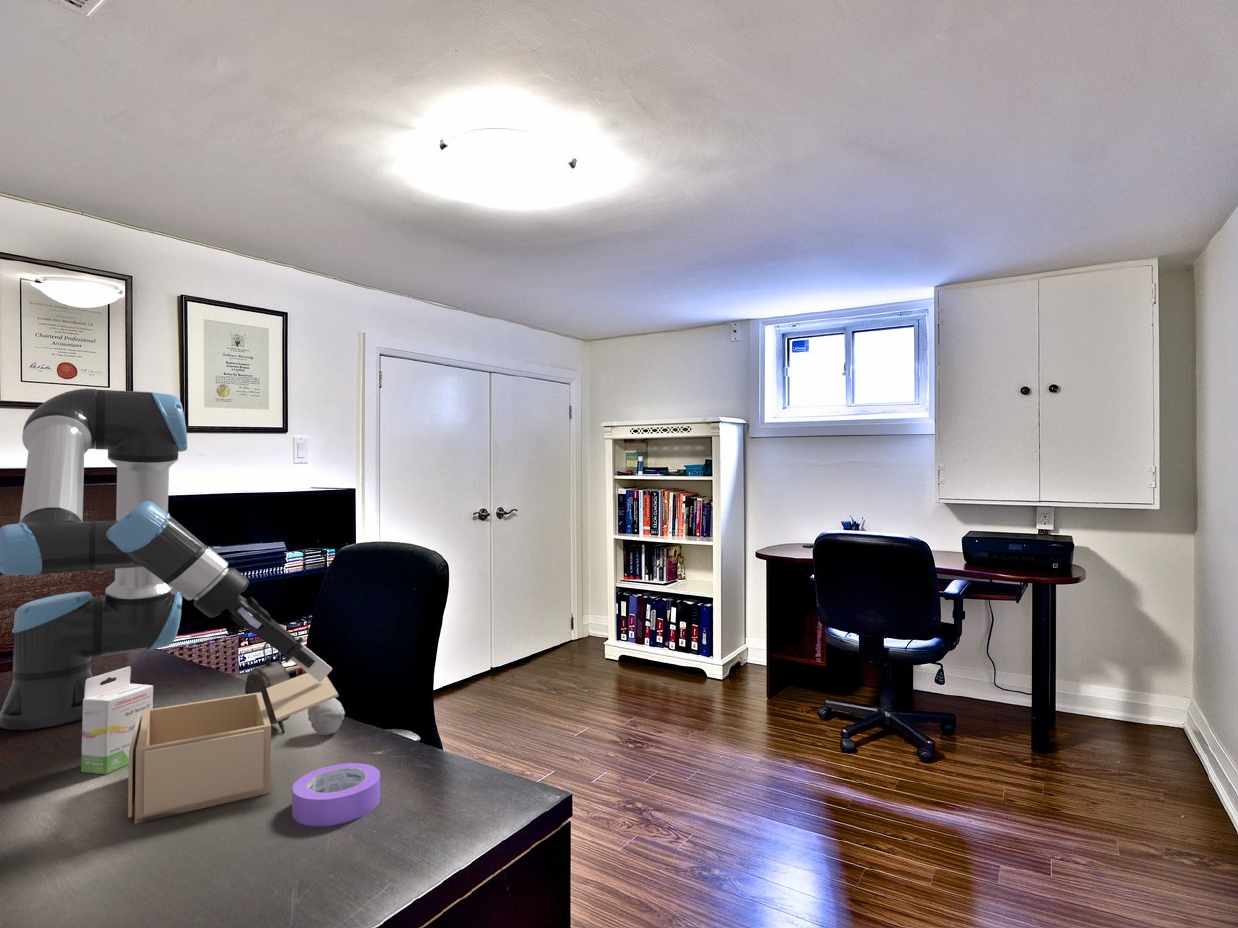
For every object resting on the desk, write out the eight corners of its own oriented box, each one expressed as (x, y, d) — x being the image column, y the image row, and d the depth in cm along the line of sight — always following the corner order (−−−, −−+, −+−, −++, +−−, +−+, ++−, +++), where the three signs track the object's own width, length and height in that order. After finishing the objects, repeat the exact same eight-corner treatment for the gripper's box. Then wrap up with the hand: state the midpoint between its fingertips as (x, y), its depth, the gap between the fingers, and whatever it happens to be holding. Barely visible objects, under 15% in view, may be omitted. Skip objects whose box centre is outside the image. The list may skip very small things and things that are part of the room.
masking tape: (284, 802, 97) (284, 775, 97) (366, 780, 104) (366, 755, 104) (302, 837, 88) (302, 807, 88) (391, 810, 95) (391, 783, 95)
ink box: (105, 775, 105) (106, 681, 105) (79, 772, 106) (81, 679, 106) (154, 753, 113) (155, 666, 114) (129, 750, 114) (131, 664, 114)
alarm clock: (295, 732, 123) (296, 643, 123) (265, 741, 118) (266, 650, 119) (268, 718, 129) (269, 634, 130) (238, 726, 125) (239, 640, 125)
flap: (266, 688, 115) (321, 667, 119) (266, 690, 115) (321, 669, 119) (276, 718, 100) (338, 693, 105) (276, 721, 100) (338, 695, 105)
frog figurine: (329, 724, 126) (330, 687, 127) (352, 732, 123) (353, 694, 123) (299, 734, 121) (299, 696, 121) (322, 743, 118) (322, 703, 118)
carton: (137, 772, 106) (138, 709, 106) (260, 748, 115) (260, 690, 115) (127, 827, 89) (128, 753, 90) (270, 794, 99) (271, 727, 99)
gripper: (190, 595, 107) (302, 682, 116) (190, 610, 96) (314, 704, 105) (228, 560, 110) (335, 648, 119) (233, 570, 99) (350, 665, 108)
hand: (325, 674), depth 112 cm, fingers closed
